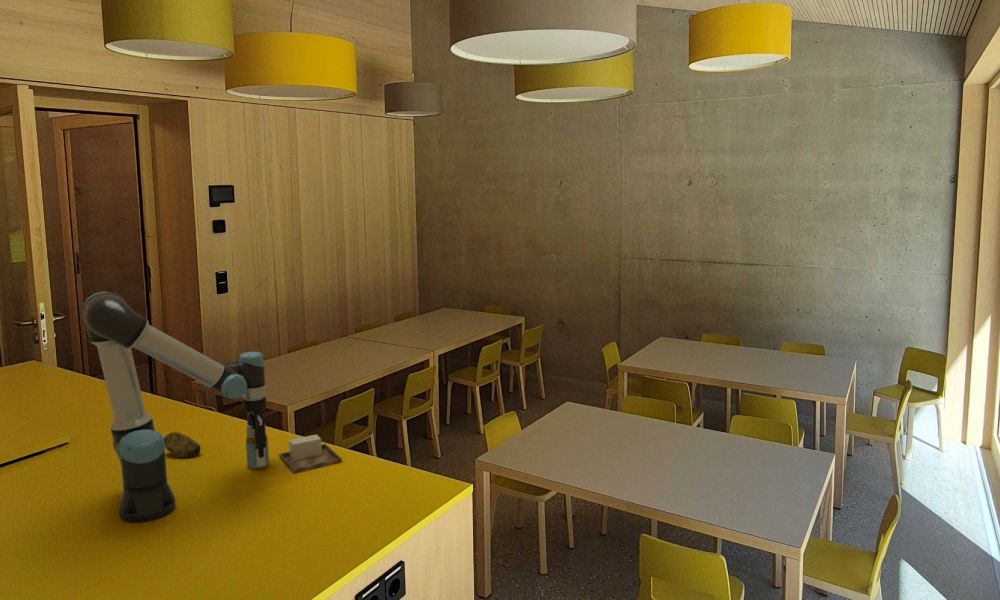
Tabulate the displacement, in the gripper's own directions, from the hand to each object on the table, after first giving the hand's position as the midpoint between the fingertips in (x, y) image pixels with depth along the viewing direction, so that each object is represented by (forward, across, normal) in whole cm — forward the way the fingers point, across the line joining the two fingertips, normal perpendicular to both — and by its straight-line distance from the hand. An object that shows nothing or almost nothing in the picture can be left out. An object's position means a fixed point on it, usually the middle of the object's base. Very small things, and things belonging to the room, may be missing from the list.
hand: (258, 461), depth 237 cm
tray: (+2, -5, -16) cm, 17 cm away
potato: (+2, +26, +20) cm, 33 cm away
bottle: (+2, 0, 0) cm, 2 cm away
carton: (+1, 0, -16) cm, 17 cm away
